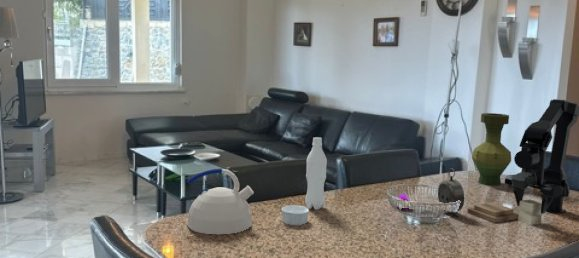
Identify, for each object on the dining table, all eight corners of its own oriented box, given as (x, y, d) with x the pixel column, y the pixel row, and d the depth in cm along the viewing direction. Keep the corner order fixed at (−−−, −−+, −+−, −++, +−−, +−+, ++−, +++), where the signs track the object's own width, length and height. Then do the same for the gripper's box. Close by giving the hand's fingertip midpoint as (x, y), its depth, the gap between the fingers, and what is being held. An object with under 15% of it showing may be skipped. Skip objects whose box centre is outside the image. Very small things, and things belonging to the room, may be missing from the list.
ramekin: (291, 216, 181) (291, 203, 181) (313, 221, 176) (314, 208, 176) (275, 222, 174) (276, 209, 173) (298, 228, 169) (298, 215, 168)
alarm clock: (464, 218, 184) (467, 171, 182) (449, 218, 183) (453, 172, 181) (447, 208, 195) (450, 164, 192) (433, 209, 193) (436, 165, 191)
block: (527, 219, 185) (529, 199, 184) (540, 223, 181) (542, 203, 180) (517, 220, 183) (519, 200, 182) (530, 225, 179) (532, 204, 178)
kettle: (253, 235, 161) (254, 176, 159) (182, 235, 160) (183, 175, 157) (253, 215, 181) (254, 162, 179) (190, 214, 180) (190, 161, 177)
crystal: (392, 206, 196) (393, 193, 196) (406, 205, 198) (406, 193, 197) (398, 210, 191) (399, 197, 191) (412, 209, 193) (413, 197, 192)
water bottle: (301, 208, 189) (304, 138, 186) (308, 203, 196) (311, 135, 192) (321, 211, 187) (324, 140, 183) (327, 206, 193) (330, 137, 190)
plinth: (491, 209, 196) (492, 201, 195) (519, 218, 185) (520, 210, 185) (467, 212, 190) (468, 204, 190) (494, 222, 180) (495, 214, 179)
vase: (472, 186, 229) (478, 115, 225) (467, 177, 245) (472, 111, 240) (513, 188, 226) (520, 117, 222) (505, 180, 242) (510, 113, 238)
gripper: (495, 160, 183) (491, 205, 186) (543, 172, 167) (538, 221, 169) (517, 158, 189) (513, 201, 191) (566, 169, 172) (561, 216, 175)
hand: (530, 209), depth 181 cm, fingers open, 9 cm apart
